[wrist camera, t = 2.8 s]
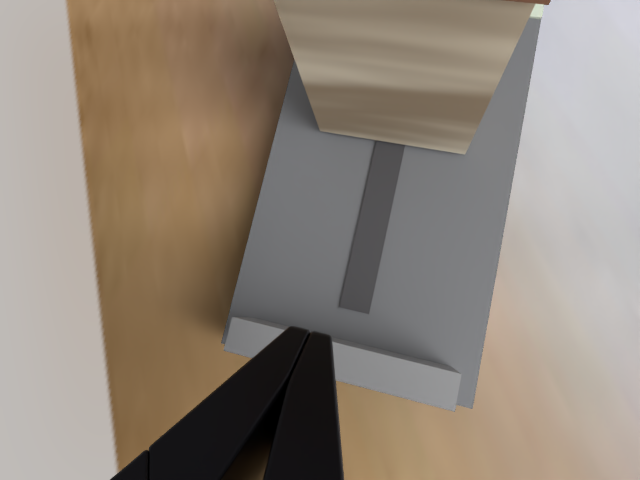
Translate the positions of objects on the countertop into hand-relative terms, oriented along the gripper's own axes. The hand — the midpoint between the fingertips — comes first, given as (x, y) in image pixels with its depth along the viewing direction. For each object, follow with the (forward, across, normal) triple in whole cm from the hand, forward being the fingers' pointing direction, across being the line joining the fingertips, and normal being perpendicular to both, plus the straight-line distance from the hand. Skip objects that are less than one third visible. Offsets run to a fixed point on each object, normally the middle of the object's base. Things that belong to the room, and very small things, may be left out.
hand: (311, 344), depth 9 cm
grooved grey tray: (+14, 0, +1) cm, 14 cm away
